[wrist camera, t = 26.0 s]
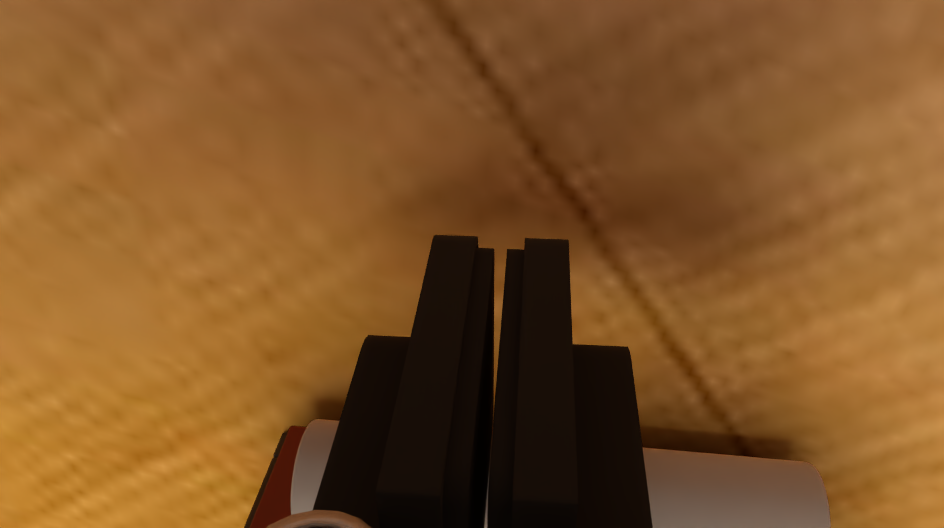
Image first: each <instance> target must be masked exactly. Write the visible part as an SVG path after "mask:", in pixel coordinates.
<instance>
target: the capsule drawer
mask: <svg viewBox="0 0 944 528" xmlns="http://www.w3.org/2000/svg"><path fill="white" fill-rule="evenodd" d="M338 424H339V421H336V420H325V419H315V420H312V421H311V422H310V423H309V424H308V426H307V427H300V426H291V427H290V428H289V431H288V433H287V436H286V438H285V441H284V443H283V446H282V448H281V451H280V453H279V456H278V458H277V461H276V463H275V465H274V468H273V470H272V473H271V475H270V478H269V480H268V483H267V485H266V488H265V490H264V493H263V495H262V498H261V500H260V503H259V505H258V508H257V510H256V513H255V515H254V518H253V520H252V523H251V525H250V528H266V527H267V526H269V525H270V524H273V523H275V522H277V521H279V520H281V519H283V518H285V517H288V516H290V515H292V514H297V513H302V512H307V511H312V510H313V507H314V504H315V500H316V497H317V494H318V490H319V487H320V484H321V480H322V477H323V474H324V470H325V467H326V464H327V460H328V457H329V454H330V450H331V447H332V444H333V440H334V437H335V434H336V431H337V427H338ZM491 445H492V439H491ZM643 455H644V463H645V471H646V479H647V486H648V494H649V502H650V510H651V518H652V525H653V528H831V525H830V511H829V504H828V498H827V494H826V490H825V486H824V483H823V480H822V478H821V476H820V474H819V472H818V470H817V469H816V468H815V467H814V466H813V465H812V464H810V463H808V462H803V461H791V460H780V459H769V458H757V457H746V456H734V455H723V454H712V453H700V452H689V451H678V450H666V449H655V448H643ZM490 457H491V451H490ZM489 470H490V463H489ZM488 486H489V476H488ZM487 510H488V488H487V500H486V512H485V525H484V528H487Z"/></svg>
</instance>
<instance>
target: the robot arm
mask: <svg viewBox="0 0 944 528" xmlns="http://www.w3.org/2000/svg"><path fill="white" fill-rule="evenodd" d="M493 387H494V249H490V248H479V246H478V237H475V236H447V235H435V236H434V237H433V240H432V245H431V249H430V253H429V258H428V262H427V267H426V271H425V276H424V280H423V284H422V289H421V293H420V298H419V302H418V306H417V311H416V315H415V320H414V324H413V328H412V333H411V337H396V336H374V335H368V336H367V337H366V338H365V340H364V343H363V345H362V348H361V351H360V354H359V357H358V361H357V364H356V367H355V371H354V374H353V377H352V381H351V384H350V387H349V391H348V394H347V397H346V401H345V404H344V407H343V411H342V414H341V417H340V421H339V424H338V427H337V431H336V434H335V437H334V440H333V444H332V447H331V450H330V454H329V457H328V460H327V464H326V467H325V470H324V474H323V477H322V480H321V484H320V487H319V490H318V494H317V497H316V500H315V504H314V507H313V510H312V511H307V512H302V513H297V514H292V515H290V516H288V517H285V518H283V519H281V520H279V521H277V522H275V523H273V524H270V525H269V526H267V527H266V528H484V525H485V512H486V500H487V488H488V510H487V528H653V525H652V518H651V510H650V502H649V494H648V486H647V479H646V471H645V463H644V455H643V447H642V439H641V432H640V424H639V416H638V408H637V400H636V392H635V385H634V377H633V369H632V361H631V355H630V351H629V349H628V347H620V346H598V345H576V344H572V318H571V291H570V263H569V241H568V240H562V239H533V238H525V248H524V250H519V249H507V258H506V271H505V283H504V296H503V308H502V320H501V333H500V345H499V358H498V370H497V383H496V395H495V407H494V420H493ZM492 425H493V432H492ZM491 439H492V445H491ZM490 451H491V457H490ZM489 463H490V470H489ZM488 476H489V486H488Z"/></svg>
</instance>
